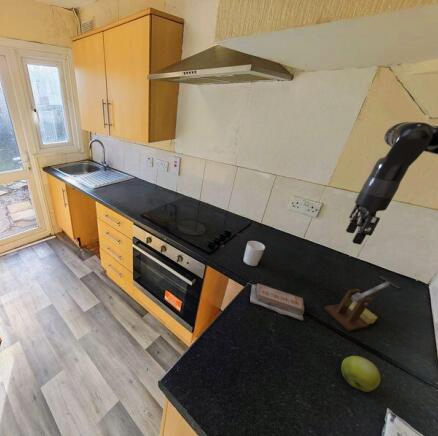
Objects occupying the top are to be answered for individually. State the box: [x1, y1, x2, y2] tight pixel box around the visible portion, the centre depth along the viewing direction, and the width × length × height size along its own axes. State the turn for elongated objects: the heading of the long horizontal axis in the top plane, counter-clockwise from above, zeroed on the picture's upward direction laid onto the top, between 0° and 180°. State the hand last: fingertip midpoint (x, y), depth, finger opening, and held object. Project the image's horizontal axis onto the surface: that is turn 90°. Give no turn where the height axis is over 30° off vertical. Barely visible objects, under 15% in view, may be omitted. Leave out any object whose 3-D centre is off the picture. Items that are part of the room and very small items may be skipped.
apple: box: [340, 355, 382, 393], centre depth 63 cm, size 8×9×8 cm
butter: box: [349, 302, 378, 325], centre depth 86 cm, size 4×8×3 cm, turn 13°
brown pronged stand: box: [323, 288, 373, 332], centre depth 82 cm, size 9×10×12 cm
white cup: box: [243, 240, 266, 267], centre depth 110 cm, size 8×8×10 cm
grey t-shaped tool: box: [351, 274, 403, 304], centre depth 80 cm, size 15×6×2 cm, turn 104°
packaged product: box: [249, 283, 305, 321], centre depth 88 cm, size 18×5×10 cm
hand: (352, 237), depth 76 cm, fingers open, 8 cm apart
